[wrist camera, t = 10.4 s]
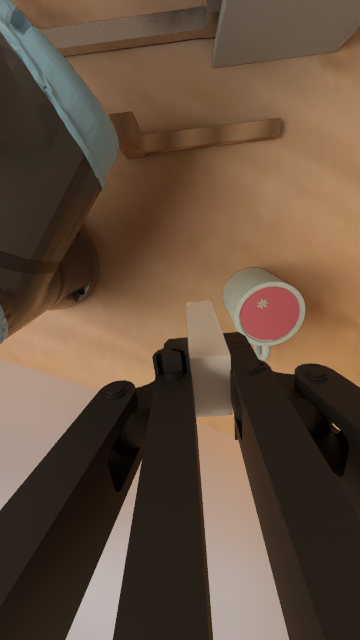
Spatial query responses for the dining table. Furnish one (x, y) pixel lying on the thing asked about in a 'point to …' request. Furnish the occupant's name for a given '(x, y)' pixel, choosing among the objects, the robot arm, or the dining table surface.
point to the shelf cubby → (282, 29)
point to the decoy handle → (187, 135)
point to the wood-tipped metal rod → (137, 30)
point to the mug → (263, 308)
